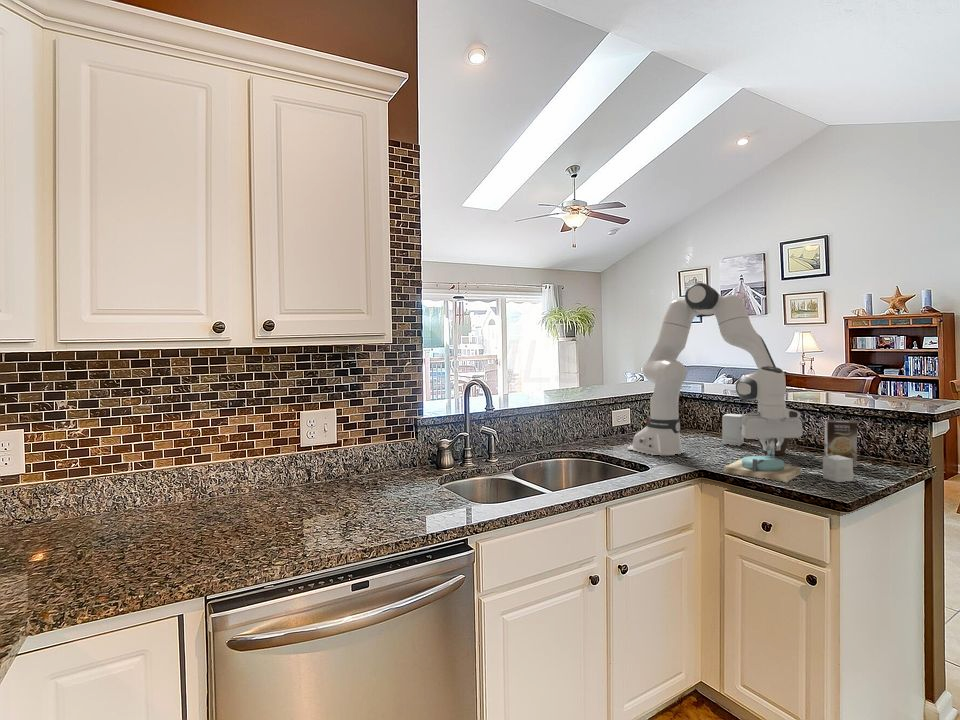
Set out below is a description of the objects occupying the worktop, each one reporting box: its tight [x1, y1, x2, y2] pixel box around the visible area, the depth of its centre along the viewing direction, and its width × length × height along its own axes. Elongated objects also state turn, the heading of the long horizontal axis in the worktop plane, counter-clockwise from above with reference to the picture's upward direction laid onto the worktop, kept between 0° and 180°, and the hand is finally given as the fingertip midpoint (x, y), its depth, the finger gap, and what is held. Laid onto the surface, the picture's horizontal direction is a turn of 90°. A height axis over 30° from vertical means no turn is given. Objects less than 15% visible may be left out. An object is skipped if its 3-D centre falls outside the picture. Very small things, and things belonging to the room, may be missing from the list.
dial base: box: [723, 458, 802, 483], centre depth 188 cm, size 20×14×6 cm
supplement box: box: [721, 413, 745, 447], centre depth 235 cm, size 7×7×13 cm
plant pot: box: [752, 411, 791, 456], centre depth 215 cm, size 15×15×16 cm
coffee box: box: [823, 418, 858, 467], centre depth 194 cm, size 9×6×16 cm
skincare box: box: [822, 455, 854, 483], centre depth 177 cm, size 6×6×7 cm
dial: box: [741, 438, 785, 471], centre depth 189 cm, size 17×13×8 cm
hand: (771, 450), depth 194 cm, fingers open, 2 cm apart
